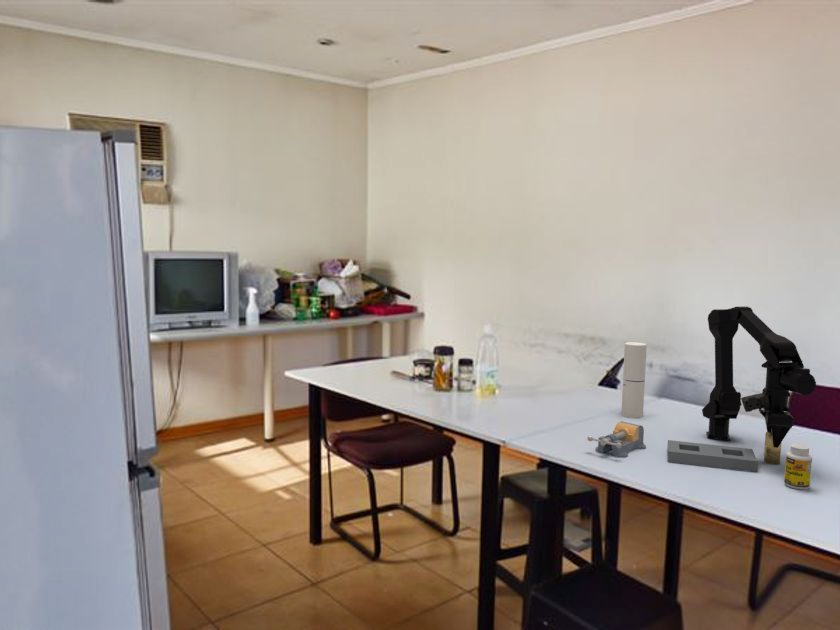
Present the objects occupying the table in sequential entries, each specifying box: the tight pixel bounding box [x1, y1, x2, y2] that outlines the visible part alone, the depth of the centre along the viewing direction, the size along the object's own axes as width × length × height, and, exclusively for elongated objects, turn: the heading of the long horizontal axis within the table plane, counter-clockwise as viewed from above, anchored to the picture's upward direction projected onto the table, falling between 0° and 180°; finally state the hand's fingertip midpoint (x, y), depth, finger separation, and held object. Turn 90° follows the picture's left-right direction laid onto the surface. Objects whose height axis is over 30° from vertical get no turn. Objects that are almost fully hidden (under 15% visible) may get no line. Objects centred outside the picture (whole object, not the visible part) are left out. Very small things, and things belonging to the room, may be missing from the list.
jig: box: [666, 439, 759, 473], centre depth 185 cm, size 11×22×3 cm, turn 71°
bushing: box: [763, 431, 783, 466], centre depth 184 cm, size 4×4×8 cm
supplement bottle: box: [783, 443, 813, 490], centre depth 166 cm, size 6×6×10 cm
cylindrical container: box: [620, 341, 648, 419], centre depth 231 cm, size 7×7×25 cm
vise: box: [587, 421, 647, 459], centre depth 193 cm, size 18×10×7 cm, turn 135°
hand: (772, 442), depth 184 cm, fingers open, 9 cm apart
